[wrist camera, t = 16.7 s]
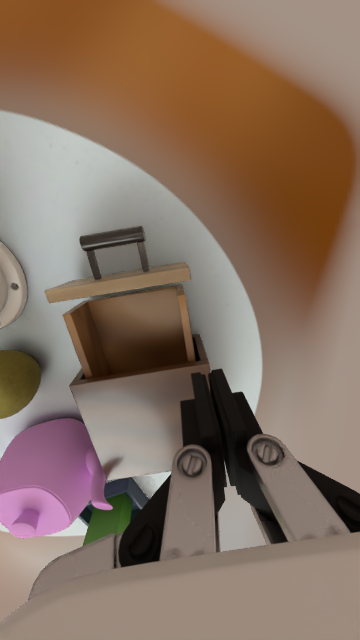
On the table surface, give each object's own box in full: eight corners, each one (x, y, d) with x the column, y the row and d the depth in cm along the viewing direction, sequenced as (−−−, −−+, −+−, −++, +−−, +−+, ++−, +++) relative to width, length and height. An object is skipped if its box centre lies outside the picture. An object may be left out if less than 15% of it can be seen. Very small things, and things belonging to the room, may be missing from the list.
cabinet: (93, 350, 29) (68, 385, 22) (199, 333, 29) (209, 363, 22) (120, 430, 34) (107, 480, 27) (211, 417, 34) (221, 463, 27)
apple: (43, 337, 28) (3, 366, 21) (58, 387, 31) (27, 428, 24) (-15, 341, 28) (-74, 372, 21) (5, 391, 31) (-41, 433, 24)
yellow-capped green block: (124, 492, 38) (105, 590, 27) (132, 502, 39) (118, 601, 28) (95, 502, 39) (65, 602, 28) (104, 512, 40) (79, 612, 29)
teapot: (142, 458, 36) (131, 545, 26) (33, 484, 37) (-20, 578, 27) (113, 396, 32) (85, 471, 21) (-10, 428, 33) (-95, 515, 22)
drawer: (59, 242, 23) (25, 242, 18) (179, 222, 23) (182, 215, 18) (104, 377, 29) (88, 407, 24) (199, 362, 29) (206, 389, 24)
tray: (100, 520, 41) (96, 535, 39) (75, 494, 38) (70, 509, 36) (151, 503, 40) (150, 517, 38) (129, 475, 37) (127, 489, 35)
